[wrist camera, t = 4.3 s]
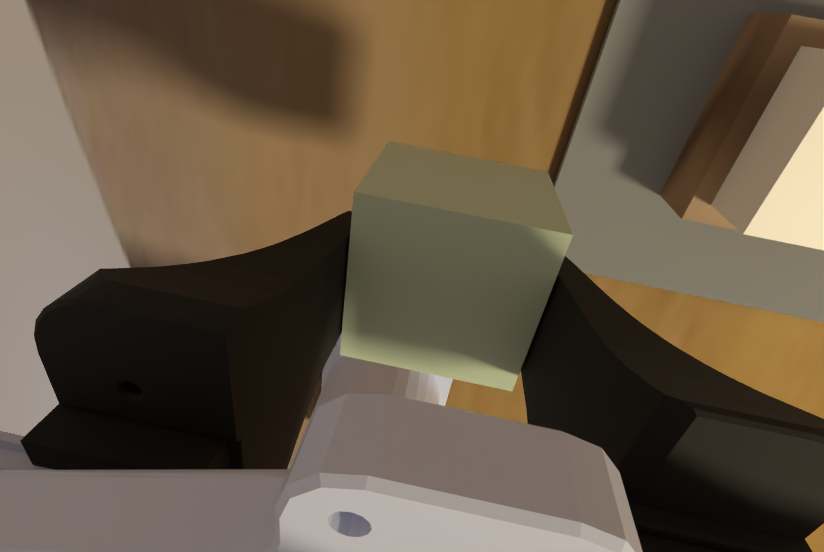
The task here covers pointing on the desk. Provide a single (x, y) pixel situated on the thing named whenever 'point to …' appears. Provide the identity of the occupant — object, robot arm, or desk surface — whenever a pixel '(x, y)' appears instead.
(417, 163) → the green block
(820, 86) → the white slab
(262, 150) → the desk surface
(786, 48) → the walnut slab
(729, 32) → the mat
